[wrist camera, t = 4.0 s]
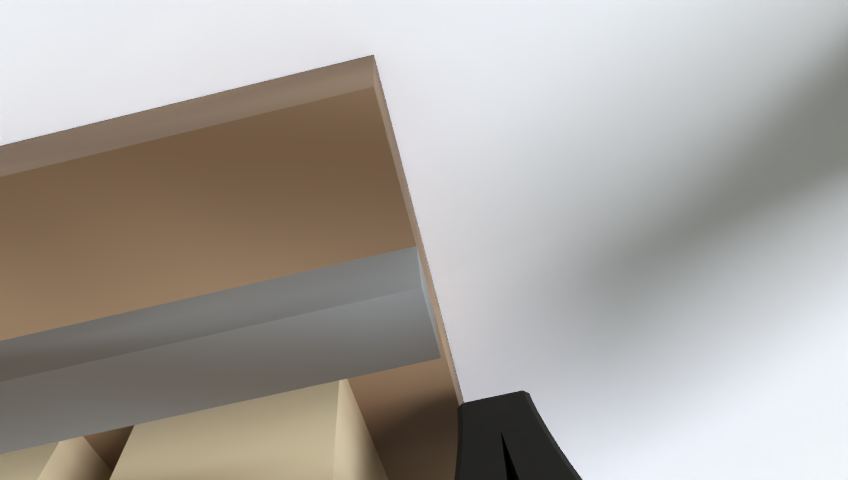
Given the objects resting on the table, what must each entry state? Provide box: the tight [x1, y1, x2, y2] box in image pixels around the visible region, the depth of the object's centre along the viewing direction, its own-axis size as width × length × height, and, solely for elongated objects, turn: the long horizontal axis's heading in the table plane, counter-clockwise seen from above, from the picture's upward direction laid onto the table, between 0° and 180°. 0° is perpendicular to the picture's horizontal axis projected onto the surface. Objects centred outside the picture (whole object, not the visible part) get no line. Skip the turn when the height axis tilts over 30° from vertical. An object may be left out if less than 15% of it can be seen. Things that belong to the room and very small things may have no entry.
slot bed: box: [0, 55, 464, 480], centre depth 12 cm, size 14×14×3 cm
